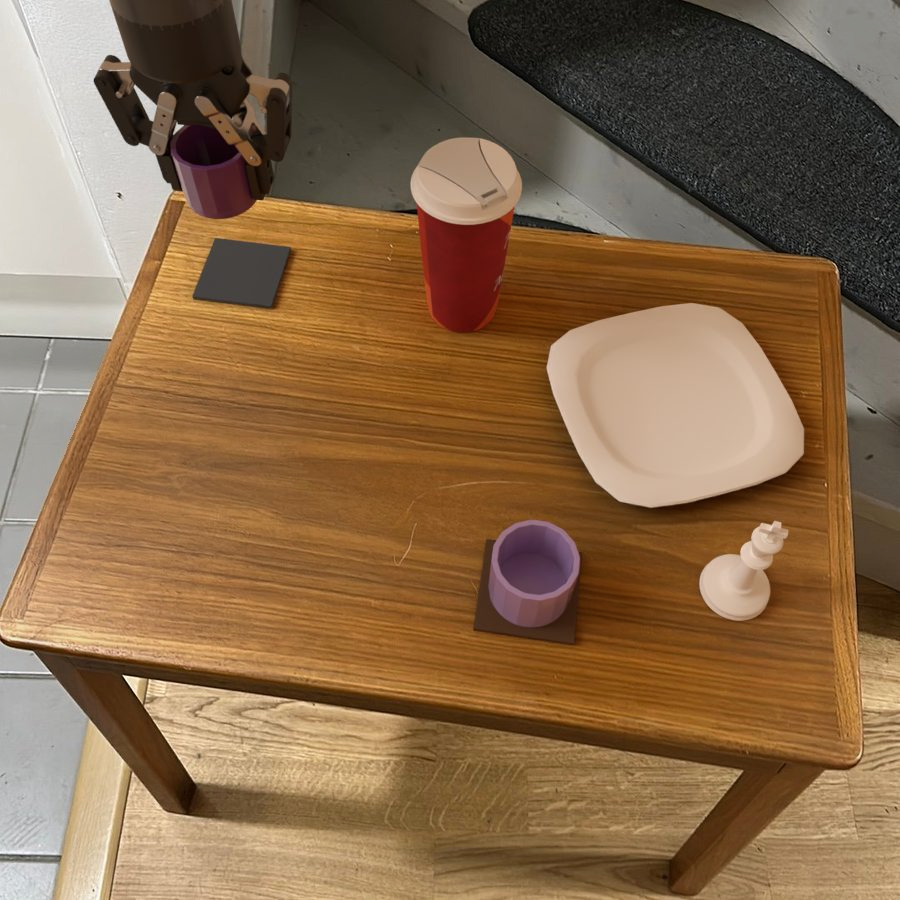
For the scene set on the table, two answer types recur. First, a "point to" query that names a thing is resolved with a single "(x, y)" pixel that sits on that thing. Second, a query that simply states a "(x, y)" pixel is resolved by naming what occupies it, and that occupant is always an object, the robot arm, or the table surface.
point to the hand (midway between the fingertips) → (221, 187)
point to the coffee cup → (464, 228)
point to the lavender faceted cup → (533, 573)
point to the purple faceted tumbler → (211, 173)
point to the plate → (673, 405)
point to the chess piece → (742, 575)
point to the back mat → (242, 273)
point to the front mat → (495, 623)
